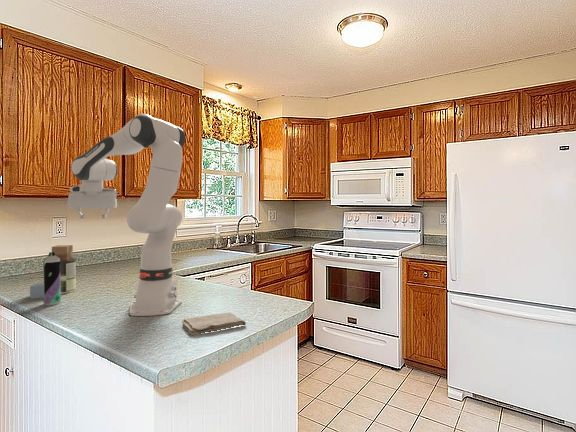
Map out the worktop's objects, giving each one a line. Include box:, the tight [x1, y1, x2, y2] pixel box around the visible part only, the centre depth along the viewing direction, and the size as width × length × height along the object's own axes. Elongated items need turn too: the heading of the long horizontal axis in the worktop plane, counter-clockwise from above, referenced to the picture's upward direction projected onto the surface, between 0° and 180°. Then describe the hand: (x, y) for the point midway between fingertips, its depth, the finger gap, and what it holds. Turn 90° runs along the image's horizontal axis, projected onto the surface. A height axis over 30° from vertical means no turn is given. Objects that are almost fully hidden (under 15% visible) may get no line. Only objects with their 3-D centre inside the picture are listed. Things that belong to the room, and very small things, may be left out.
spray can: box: [42, 251, 62, 306], centre depth 141 cm, size 6×6×20 cm
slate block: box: [29, 282, 44, 299], centre depth 151 cm, size 5×5×5 cm
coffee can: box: [60, 257, 77, 295], centre depth 160 cm, size 10×10×14 cm
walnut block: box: [51, 244, 74, 261], centre depth 160 cm, size 6×6×6 cm
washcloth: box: [181, 312, 247, 336], centre depth 118 cm, size 12×18×3 cm, turn 122°
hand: (93, 218), depth 168 cm, fingers open, 8 cm apart
